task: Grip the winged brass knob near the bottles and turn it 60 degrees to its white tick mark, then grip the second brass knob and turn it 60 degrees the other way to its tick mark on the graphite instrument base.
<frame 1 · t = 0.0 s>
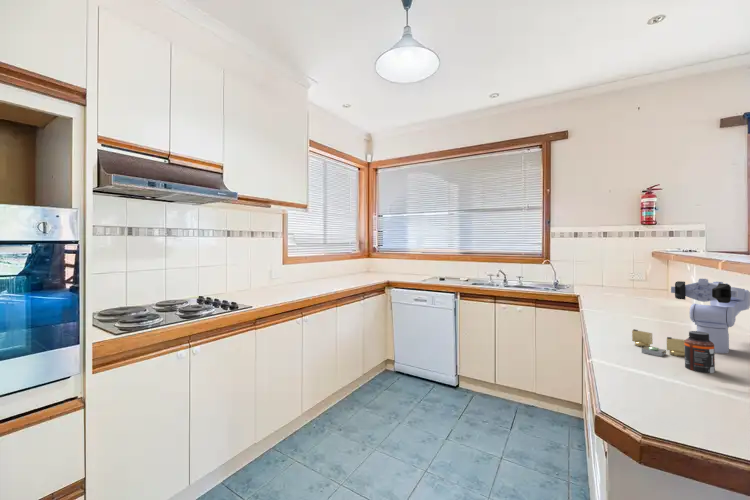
hand: (695, 291, 98), 22 cm above the counter, tool horizontal, fingers open, 7 cm apart
knob 1: (678, 346, 104), point 4 cm above the counter, hinge at 0.0°
knob 2: (642, 338, 114), point 4 cm above the counter, hinge at 0.0°
supplement bottle: (699, 374, 92), on the counter
instrument base: (657, 355, 108), on the counter
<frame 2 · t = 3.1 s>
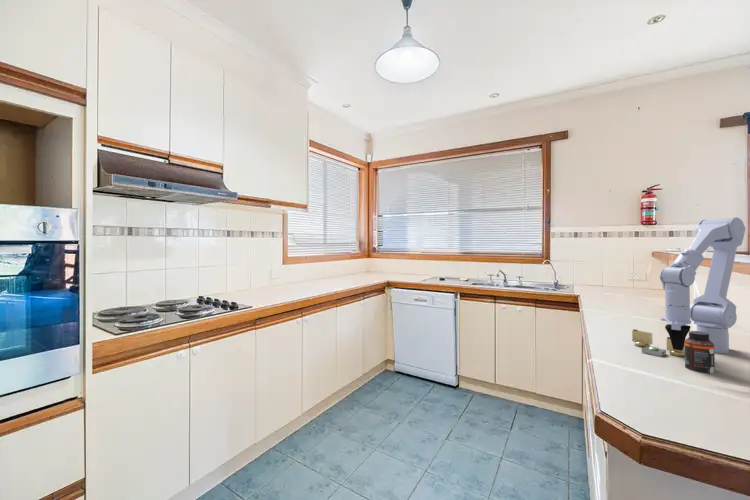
hand: (678, 349, 104), 3 cm above the counter, tool pointing down, fingers closed on knob 1, 2 cm apart
knob 1: (678, 346, 104), point 4 cm above the counter, hinge at 0.0°, touching gripper
everything else where it was.
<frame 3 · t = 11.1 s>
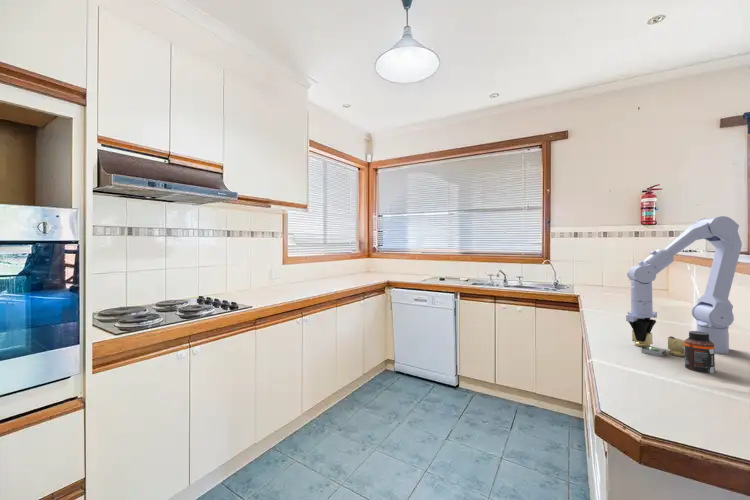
hand: (642, 340, 114), 3 cm above the counter, tool pointing down, fingers closed on knob 2, 2 cm apart
knob 1: (678, 346, 104), point 4 cm above the counter, hinge at -41.9°
knob 2: (642, 338, 114), point 4 cm above the counter, hinge at 0.0°, touching gripper
everything else where it was.
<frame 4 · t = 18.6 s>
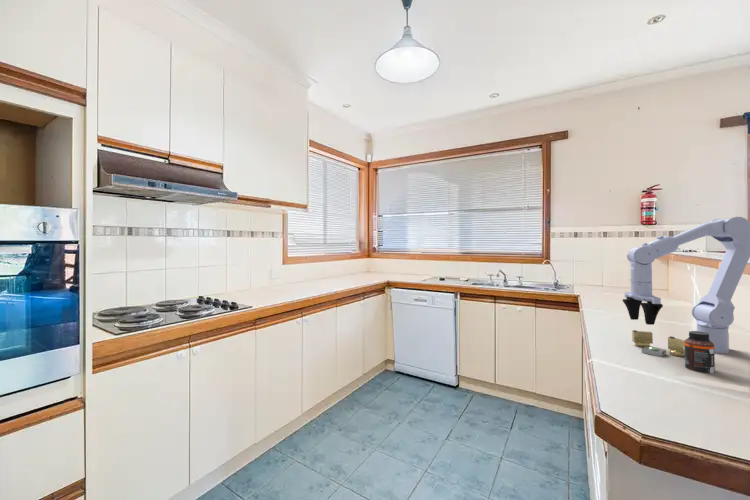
hand: (641, 321, 114), 9 cm above the counter, tool pointing down, fingers open, 7 cm apart
knob 1: (678, 346, 104), point 4 cm above the counter, hinge at -42.6°
knob 2: (642, 338, 114), point 4 cm above the counter, hinge at 44.8°
everything else where it was.
at the end: knob 1 at -43° (first picture: +0°); knob 2 at +45° (first picture: +0°); supplement bottle moved 0.2 cm from its start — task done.
